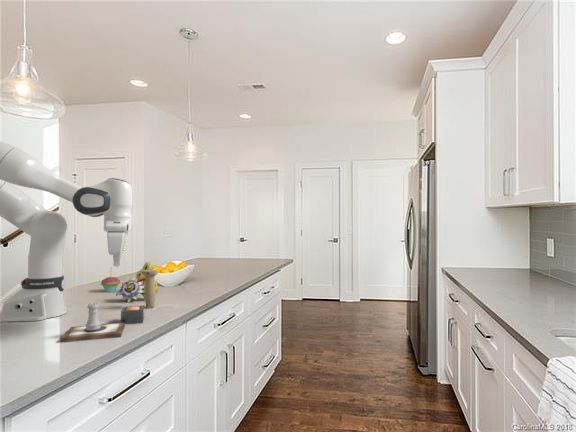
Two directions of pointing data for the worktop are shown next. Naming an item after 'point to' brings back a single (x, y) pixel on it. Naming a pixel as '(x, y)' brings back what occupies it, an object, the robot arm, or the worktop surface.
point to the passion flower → (131, 290)
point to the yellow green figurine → (143, 278)
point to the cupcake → (110, 283)
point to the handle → (150, 287)
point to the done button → (132, 308)
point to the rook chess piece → (93, 318)
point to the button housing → (132, 315)
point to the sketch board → (93, 332)
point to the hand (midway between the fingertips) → (116, 266)
